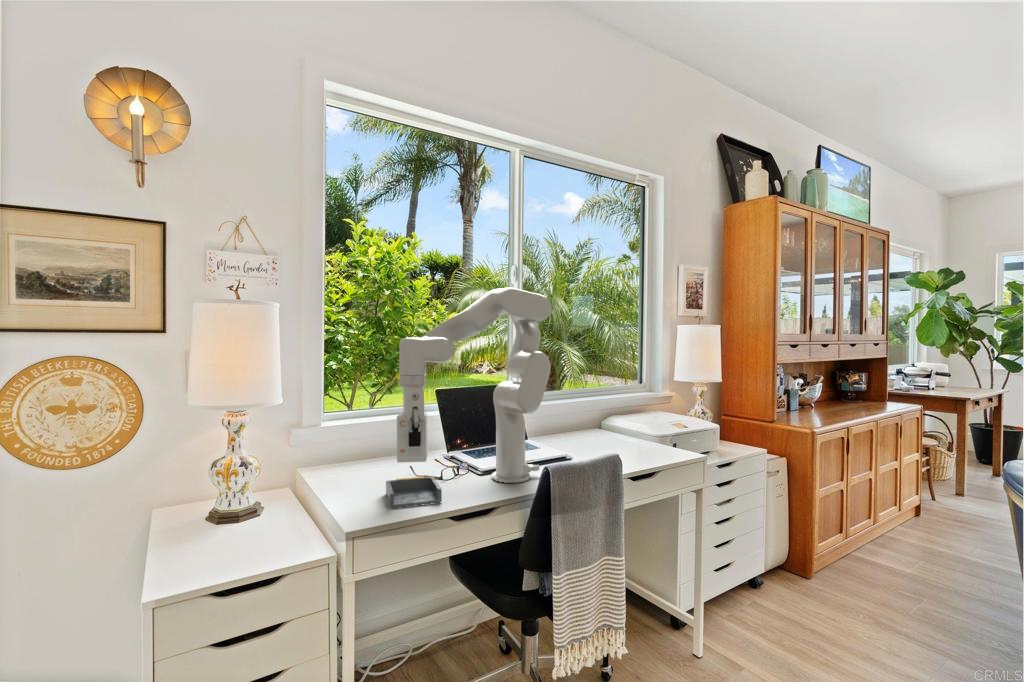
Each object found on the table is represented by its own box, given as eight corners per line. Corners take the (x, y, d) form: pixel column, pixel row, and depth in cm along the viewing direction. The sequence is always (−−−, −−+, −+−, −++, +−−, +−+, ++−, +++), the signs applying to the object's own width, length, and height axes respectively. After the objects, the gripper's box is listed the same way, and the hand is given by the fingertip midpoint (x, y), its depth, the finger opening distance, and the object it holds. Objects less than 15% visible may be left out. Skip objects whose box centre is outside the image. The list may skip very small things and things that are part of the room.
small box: (427, 456, 148) (427, 412, 148) (426, 462, 142) (426, 415, 142) (399, 457, 147) (399, 412, 147) (396, 462, 141) (396, 416, 141)
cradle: (433, 489, 154) (433, 475, 154) (441, 503, 141) (441, 487, 141) (386, 494, 149) (385, 479, 149) (390, 508, 137) (390, 493, 137)
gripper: (431, 383, 137) (431, 449, 137) (421, 378, 154) (421, 436, 154) (402, 384, 135) (402, 451, 135) (396, 378, 151) (396, 438, 152)
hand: (412, 442), depth 145 cm, fingers closed on small box, 7 cm apart
